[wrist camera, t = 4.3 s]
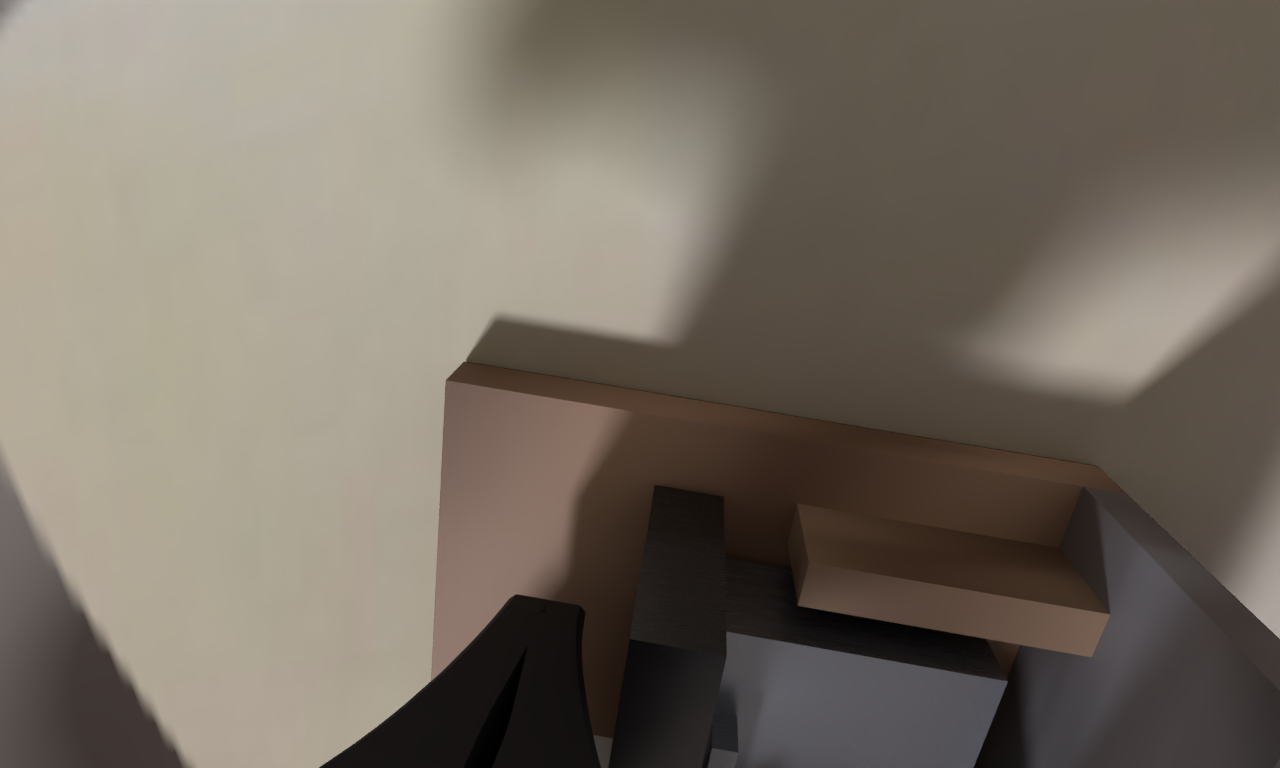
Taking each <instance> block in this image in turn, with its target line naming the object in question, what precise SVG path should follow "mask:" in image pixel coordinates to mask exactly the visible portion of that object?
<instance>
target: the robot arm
mask: <svg viewBox="0 0 1280 768" xmlns="http://www.w3.org/2000/svg"><path fill="white" fill-rule="evenodd" d="M585 613H586V612H585V611H584V610H583V608H582V607H581V606H580V605H575V604H569V603H564V602H558V601H552V600H547V599H541V598H535V597H530V596H524V595H518V594H516V595H514V596H512V597H511V598H509V599H508V601H507V602H506V603H505V604H504V606H503V607H502V608H501V609H500V611H499V612H498V613H497V614H496V615H495V617H494V618H493V619H492V620H491V621H490V622H489V623H488V625H487V626H486V627H485V628H484V629H483V630H482V631H481V632H480V633H479V634H478V635H477V637H476V638H475V639H474V640H473V641H472V642H471V643H470V644H469V645H468V646H467V647H466V648H465V649H464V650H463V651H462V652H461V653H460V654H459V655H458V656H457V657H456V658H455V659H454V660H453V661H452V662H451V663H450V664H449V665H448V666H447V667H446V668H445V669H444V670H443V671H442V672H441V673H440V674H439V675H438V676H436V677H435V678H434V679H433V680H432V681H431V682H430V683H429V684H427V685H426V686H425V687H424V688H423V689H422V690H421V691H420V692H418V693H417V694H416V695H415V696H414V697H413V698H412V699H411V700H409V701H408V702H407V703H406V704H405V705H404V706H402V707H401V708H400V709H399V710H398V711H396V712H395V713H394V714H393V715H391V716H390V717H389V718H388V719H386V720H385V721H384V722H383V723H381V724H380V725H379V726H378V727H376V728H375V729H373V730H372V731H371V732H369V733H368V734H367V735H365V736H364V737H363V738H361V739H360V740H359V741H357V742H356V743H355V744H353V745H352V746H350V747H349V748H347V749H346V750H344V751H343V752H341V753H340V754H339V755H337V756H336V757H334V758H333V759H331V760H330V761H328V762H327V763H325V764H324V765H322V766H321V767H319V768H601V766H600V762H599V758H598V754H597V750H596V746H595V741H594V737H593V732H592V727H591V722H590V717H589V711H588V706H587V699H586V691H585V684H584V676H583V665H582V635H583V628H584V620H585Z"/></svg>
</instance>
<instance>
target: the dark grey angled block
mask: <svg viewBox="0 0 1280 768" xmlns="http://www.w3.org/2000/svg"><path fill="white" fill-rule="evenodd" d="M1007 683H1008V681H1007V679H1006V677H1005V675H1004V673H1003V671H1002V669H1001V667H1000V665H999V663H998V661H997V659H996V657H995V655H994V653H993V651H992V649H991V647H990V645H989V643H988V641H987V639H984V638H979V637H973V636H967V635H961V634H956V633H950V632H944V631H939V630H933V629H927V628H922V627H916V626H910V625H904V624H899V623H893V622H887V621H882V620H876V619H870V618H865V617H859V616H853V615H847V614H842V613H836V612H830V611H825V610H819V609H813V608H808V607H802V606H798V604H797V598H796V592H795V585H794V579H793V573H792V569H787V568H781V567H776V566H770V565H764V564H758V563H753V562H747V561H741V560H735V559H730V558H725V533H724V496H718V495H712V494H706V493H700V492H694V491H688V490H683V489H677V488H671V487H665V486H659V485H655V487H654V493H653V499H652V505H651V511H650V517H649V523H648V529H647V535H646V541H645V547H644V553H643V559H642V565H641V571H640V577H639V583H638V590H637V596H636V602H635V608H634V614H633V620H632V626H631V632H630V638H629V644H628V650H627V656H626V662H625V668H624V674H623V680H622V686H621V692H620V698H619V704H618V710H617V717H616V723H615V729H614V735H613V741H612V747H611V753H610V759H609V765H608V768H974V765H975V763H976V760H977V758H978V755H979V753H980V750H981V748H982V745H983V743H984V740H985V738H986V735H987V733H988V730H989V728H990V725H991V723H992V720H993V718H994V715H995V713H996V710H997V708H998V705H999V703H1000V700H1001V698H1002V695H1003V693H1004V690H1005V688H1006V685H1007Z"/></svg>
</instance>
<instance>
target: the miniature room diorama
mask: <svg viewBox="0 0 1280 768" xmlns="http://www.w3.org/2000/svg"><path fill="white" fill-rule="evenodd" d="M655 485H659V486H665V487H671V488H677V489H683V490H688V491H694V492H700V493H706V494H712V495H718V496H724V533H725V558H730V559H735V560H741V561H747V562H753V563H758V564H764V565H770V566H776V567H781V568H787V569H792V573H793V579H794V585H795V592H796V598H797V604H798V606H802V607H808V608H813V609H819V610H825V611H830V612H836V613H842V614H847V615H853V616H859V617H865V618H870V619H876V620H882V621H887V622H893V623H899V624H904V625H910V626H916V627H922V628H927V629H933V630H939V631H944V632H950V633H956V634H961V635H967V636H973V637H979V638H984V639H987V641H988V643H989V645H990V647H991V649H992V651H993V653H994V655H995V657H996V659H997V661H998V663H999V665H1000V667H1001V669H1002V671H1003V673H1004V675H1005V677H1006V679H1007V681H1008V683H1007V685H1006V688H1005V690H1004V693H1003V695H1002V698H1001V700H1000V703H999V705H998V708H997V710H996V713H995V715H994V718H993V720H992V723H991V725H990V728H989V730H988V733H987V735H986V738H985V740H984V743H983V745H982V748H981V750H980V753H979V755H978V758H977V760H976V763H975V765H974V768H1280V639H1279V638H1278V637H1277V636H1276V635H1275V634H1274V633H1273V632H1272V631H1270V630H1269V629H1268V628H1267V627H1266V626H1265V625H1264V624H1263V623H1262V622H1261V621H1260V620H1259V619H1258V618H1257V617H1256V616H1255V615H1254V614H1253V613H1251V612H1250V611H1249V610H1248V609H1247V608H1246V607H1245V606H1244V605H1243V604H1242V603H1241V602H1240V601H1239V600H1238V599H1237V598H1236V597H1235V596H1234V595H1233V594H1231V593H1230V592H1229V591H1228V590H1227V589H1226V588H1225V587H1224V586H1223V585H1222V584H1221V583H1220V582H1219V581H1218V580H1217V579H1216V578H1215V577H1214V576H1213V575H1211V574H1210V573H1209V572H1208V571H1207V570H1206V569H1205V568H1204V567H1203V566H1202V565H1201V564H1200V563H1199V562H1198V561H1197V560H1196V559H1195V558H1194V557H1192V556H1191V555H1190V554H1189V553H1188V552H1187V551H1186V550H1185V549H1184V548H1183V547H1182V546H1181V545H1180V544H1179V543H1178V542H1177V541H1176V540H1175V539H1174V538H1172V537H1171V536H1170V535H1169V534H1168V533H1167V532H1166V531H1165V530H1164V529H1163V528H1162V527H1161V526H1160V525H1159V524H1158V523H1157V522H1156V521H1155V520H1154V519H1152V518H1151V517H1150V516H1149V515H1148V514H1147V513H1146V512H1145V511H1144V510H1143V509H1142V508H1141V507H1140V506H1139V505H1138V504H1137V503H1136V502H1135V501H1133V500H1132V499H1131V498H1130V497H1129V496H1128V495H1127V494H1126V493H1125V492H1124V491H1123V490H1122V489H1121V488H1120V487H1119V486H1118V485H1117V484H1116V483H1115V482H1113V481H1112V480H1111V479H1110V478H1109V477H1108V476H1107V475H1106V474H1105V473H1104V472H1103V471H1102V470H1101V469H1100V468H1099V467H1098V466H1092V465H1086V464H1080V463H1074V462H1068V461H1062V460H1056V459H1050V458H1044V457H1038V456H1032V455H1026V454H1020V453H1014V452H1008V451H1002V450H996V449H990V448H983V447H977V446H971V445H965V444H959V443H953V442H947V441H941V440H935V439H929V438H923V437H917V436H911V435H905V434H899V433H893V432H887V431H881V430H875V429H868V428H862V427H856V426H850V425H844V424H838V423H832V422H826V421H820V420H814V419H808V418H802V417H796V416H790V415H784V414H778V413H772V412H766V411H760V410H754V409H747V408H741V407H735V406H729V405H723V404H717V403H711V402H705V401H699V400H693V399H687V398H681V397H675V396H669V395H663V394H657V393H651V392H645V391H639V390H632V389H626V388H620V387H614V386H608V385H602V384H596V383H590V382H584V381H578V380H572V379H566V378H560V377H554V376H548V375H542V374H536V373H530V372H524V371H517V370H511V369H505V368H499V367H493V366H487V365H481V364H475V363H469V362H463V363H462V364H461V365H460V366H459V367H458V368H457V369H456V370H455V371H454V373H453V374H452V375H451V376H450V377H449V378H448V379H447V380H446V386H445V407H444V427H443V448H442V468H441V489H440V509H439V530H438V550H437V571H436V591H435V611H434V632H433V652H432V673H431V681H432V680H433V679H434V678H435V677H436V676H438V675H439V674H440V673H441V672H442V671H443V670H444V669H445V668H446V667H447V666H448V665H449V664H450V663H451V662H452V661H453V660H454V659H455V658H456V657H457V656H458V655H459V654H460V653H461V652H462V651H463V650H464V649H465V648H466V647H467V646H468V645H469V644H470V643H471V642H472V641H473V640H474V639H475V638H476V637H477V635H478V634H479V633H480V632H481V631H482V630H483V629H484V628H485V627H486V626H487V625H488V623H489V622H490V621H491V620H492V619H493V618H494V617H495V615H496V614H497V613H498V612H499V611H500V609H501V608H502V607H503V606H504V604H505V603H506V602H507V601H508V599H509V598H511V597H512V596H514V595H516V594H518V595H524V596H530V597H535V598H541V599H547V600H552V601H558V602H564V603H569V604H575V605H580V606H581V607H582V608H583V610H584V611H585V612H586V613H585V620H584V628H583V635H582V665H583V676H584V684H585V691H586V699H587V706H588V711H589V717H590V722H591V727H592V732H593V737H594V741H595V746H596V750H597V754H598V758H599V762H600V766H601V768H608V765H609V759H610V753H611V747H612V741H613V735H614V729H615V723H616V717H617V710H618V704H619V698H620V692H621V686H622V680H623V674H624V668H625V662H626V656H627V650H628V644H629V638H630V632H631V626H632V620H633V614H634V608H635V602H636V596H637V590H638V583H639V577H640V571H641V565H642V559H643V553H644V547H645V541H646V535H647V529H648V523H649V517H650V511H651V505H652V499H653V493H654V487H655Z"/></svg>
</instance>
